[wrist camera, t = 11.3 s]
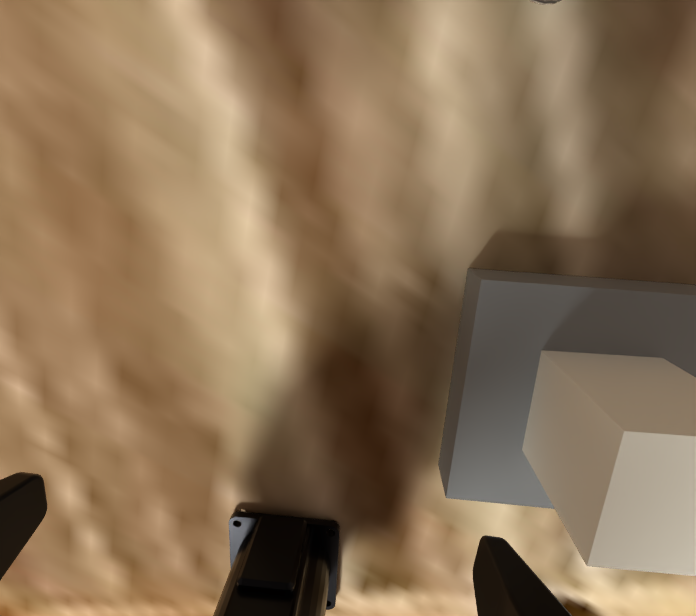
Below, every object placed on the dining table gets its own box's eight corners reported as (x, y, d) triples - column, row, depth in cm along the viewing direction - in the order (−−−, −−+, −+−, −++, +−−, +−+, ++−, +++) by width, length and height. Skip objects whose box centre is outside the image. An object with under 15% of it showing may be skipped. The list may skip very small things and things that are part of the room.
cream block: (633, 458, 18) (750, 581, 13) (521, 449, 19) (586, 566, 13) (662, 357, 17) (810, 444, 11) (541, 350, 17) (624, 431, 11)
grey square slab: (637, 477, 22) (677, 520, 19) (436, 458, 22) (446, 497, 20) (701, 283, 19) (759, 299, 16) (465, 266, 19) (481, 279, 16)
